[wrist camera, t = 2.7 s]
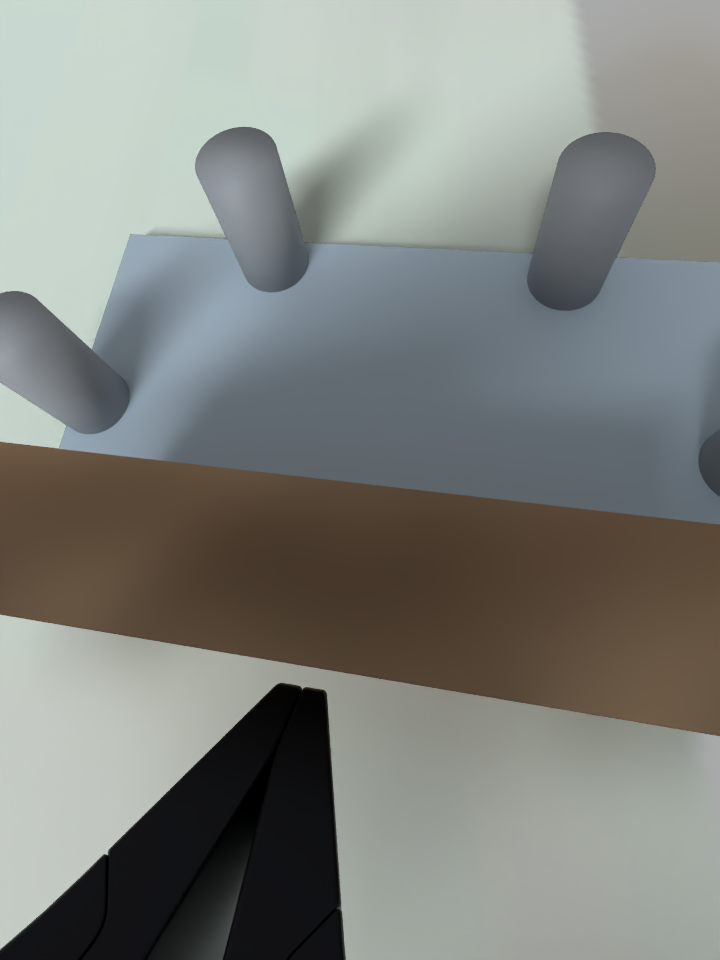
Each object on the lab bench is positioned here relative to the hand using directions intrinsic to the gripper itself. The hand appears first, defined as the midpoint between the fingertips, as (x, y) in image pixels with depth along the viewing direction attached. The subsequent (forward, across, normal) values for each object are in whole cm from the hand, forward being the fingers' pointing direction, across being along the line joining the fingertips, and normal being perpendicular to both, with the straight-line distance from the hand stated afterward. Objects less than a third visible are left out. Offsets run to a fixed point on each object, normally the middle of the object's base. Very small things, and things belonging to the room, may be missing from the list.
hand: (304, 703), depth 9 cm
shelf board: (+6, 0, +3) cm, 7 cm away
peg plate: (+12, 0, -2) cm, 12 cm away
